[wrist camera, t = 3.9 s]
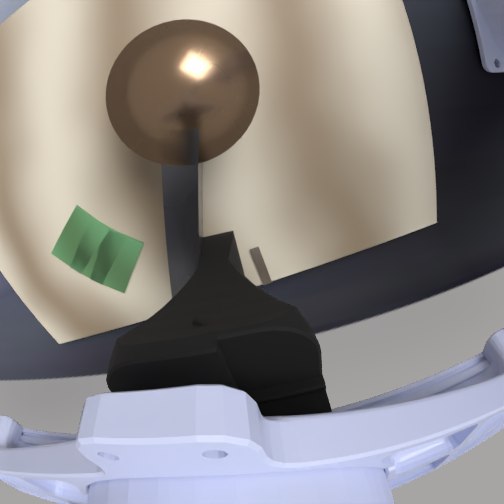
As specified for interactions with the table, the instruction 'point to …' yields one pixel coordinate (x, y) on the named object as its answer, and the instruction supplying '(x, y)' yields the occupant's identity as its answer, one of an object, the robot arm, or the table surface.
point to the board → (215, 170)
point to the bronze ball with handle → (182, 118)
